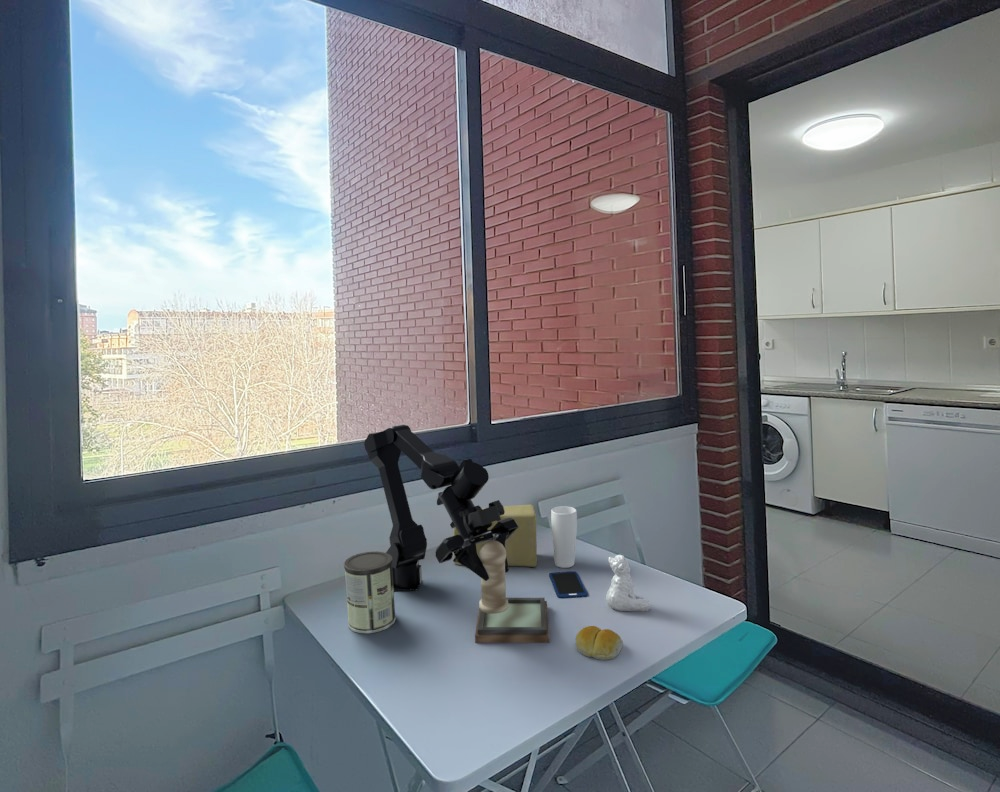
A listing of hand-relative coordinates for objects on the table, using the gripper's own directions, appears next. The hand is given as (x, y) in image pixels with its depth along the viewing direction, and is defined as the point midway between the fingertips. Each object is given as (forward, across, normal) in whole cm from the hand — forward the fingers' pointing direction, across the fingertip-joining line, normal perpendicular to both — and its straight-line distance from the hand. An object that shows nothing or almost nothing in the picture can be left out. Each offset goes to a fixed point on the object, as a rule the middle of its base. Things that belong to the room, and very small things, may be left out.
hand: (497, 575), depth 120 cm
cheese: (-11, +25, +31) cm, 41 cm away
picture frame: (+8, +6, +11) cm, 15 cm away
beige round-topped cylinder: (+4, 0, +6) cm, 7 cm away
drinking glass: (-1, +37, +20) cm, 42 cm away
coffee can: (-8, -16, +27) cm, 32 cm away
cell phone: (+5, +29, +15) cm, 33 cm away
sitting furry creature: (+16, +30, +3) cm, 34 cm away
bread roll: (+22, +12, -2) cm, 25 cm away
